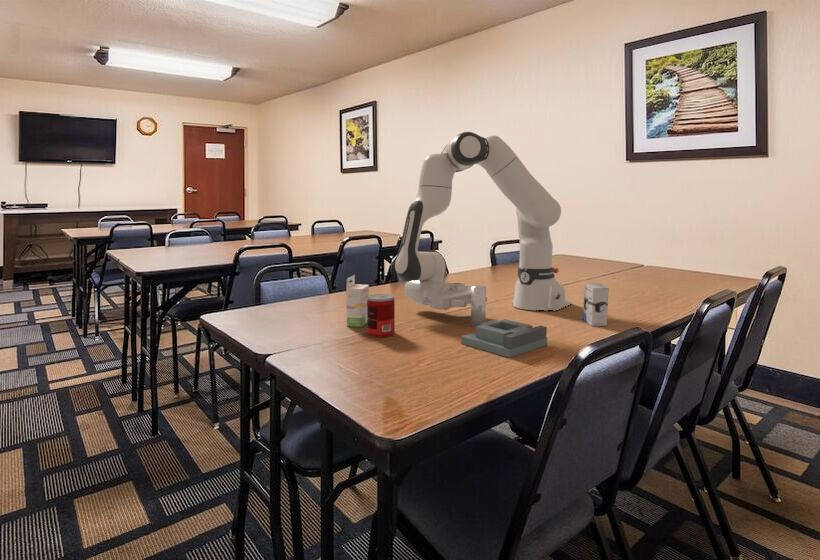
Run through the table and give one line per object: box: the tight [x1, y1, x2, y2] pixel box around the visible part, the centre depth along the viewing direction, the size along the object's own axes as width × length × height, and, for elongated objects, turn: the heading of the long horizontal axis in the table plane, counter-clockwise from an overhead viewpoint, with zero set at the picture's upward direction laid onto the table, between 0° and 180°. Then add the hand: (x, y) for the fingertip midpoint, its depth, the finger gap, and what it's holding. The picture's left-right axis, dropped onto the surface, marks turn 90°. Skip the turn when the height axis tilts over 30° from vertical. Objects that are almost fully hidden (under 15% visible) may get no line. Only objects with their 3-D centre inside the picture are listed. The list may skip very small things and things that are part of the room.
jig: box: [460, 318, 548, 358], centre depth 136 cm, size 16×16×5 cm
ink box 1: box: [345, 274, 370, 328], centre depth 157 cm, size 9×5×15 cm, turn 168°
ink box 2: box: [582, 282, 610, 327], centre depth 157 cm, size 8×5×12 cm, turn 178°
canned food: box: [366, 293, 396, 338], centre depth 146 cm, size 8×8×11 cm
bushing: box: [470, 284, 487, 328], centre depth 155 cm, size 4×4×12 cm
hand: (475, 302), depth 156 cm, fingers open, 8 cm apart
